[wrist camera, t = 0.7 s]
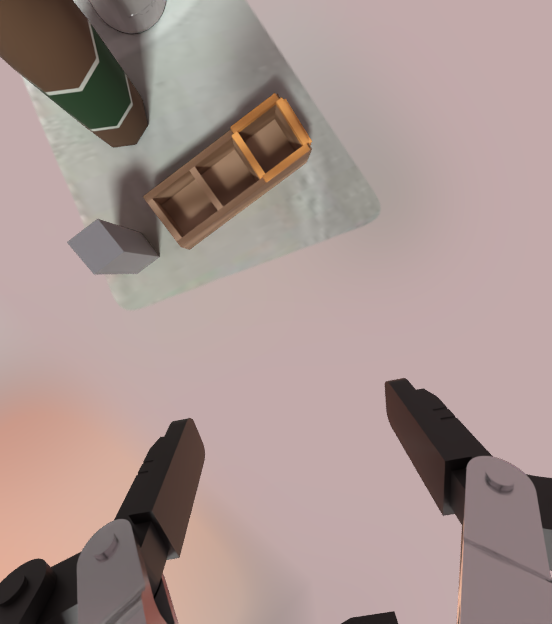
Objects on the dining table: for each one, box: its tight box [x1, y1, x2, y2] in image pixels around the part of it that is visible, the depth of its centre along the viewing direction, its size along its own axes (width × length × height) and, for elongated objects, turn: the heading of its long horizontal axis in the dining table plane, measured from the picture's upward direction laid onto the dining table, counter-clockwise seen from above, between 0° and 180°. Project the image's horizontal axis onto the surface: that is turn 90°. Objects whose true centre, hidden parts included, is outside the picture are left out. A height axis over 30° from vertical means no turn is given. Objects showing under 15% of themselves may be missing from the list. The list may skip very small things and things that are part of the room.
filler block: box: [67, 219, 160, 274], centre depth 31 cm, size 4×4×10 cm
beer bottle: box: [0, 0, 148, 147], centre depth 21 cm, size 8×8×24 cm
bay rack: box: [143, 93, 312, 249], centre depth 33 cm, size 7×21×4 cm, turn 125°
